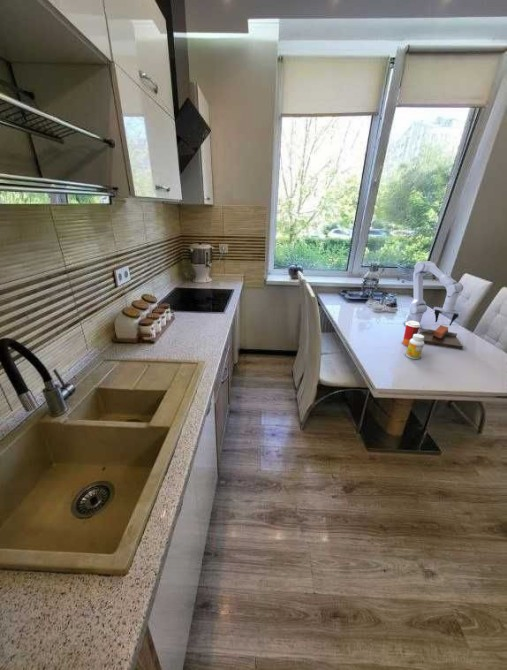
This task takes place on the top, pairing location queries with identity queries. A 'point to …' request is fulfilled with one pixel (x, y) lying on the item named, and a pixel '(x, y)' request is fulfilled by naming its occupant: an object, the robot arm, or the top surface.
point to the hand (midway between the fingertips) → (443, 323)
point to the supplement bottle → (415, 346)
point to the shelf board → (446, 341)
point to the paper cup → (410, 331)
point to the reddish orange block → (440, 332)
